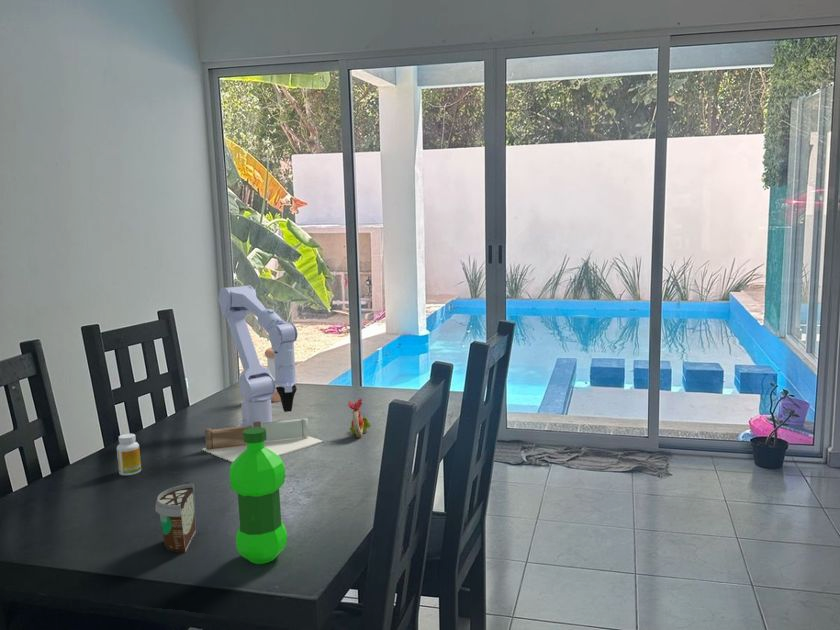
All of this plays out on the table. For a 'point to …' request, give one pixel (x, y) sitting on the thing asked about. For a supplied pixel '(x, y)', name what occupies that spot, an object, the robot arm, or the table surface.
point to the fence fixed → (226, 436)
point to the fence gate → (286, 429)
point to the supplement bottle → (128, 455)
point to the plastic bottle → (258, 499)
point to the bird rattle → (358, 419)
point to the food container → (177, 516)
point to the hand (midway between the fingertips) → (287, 411)
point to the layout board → (275, 446)
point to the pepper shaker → (272, 372)
